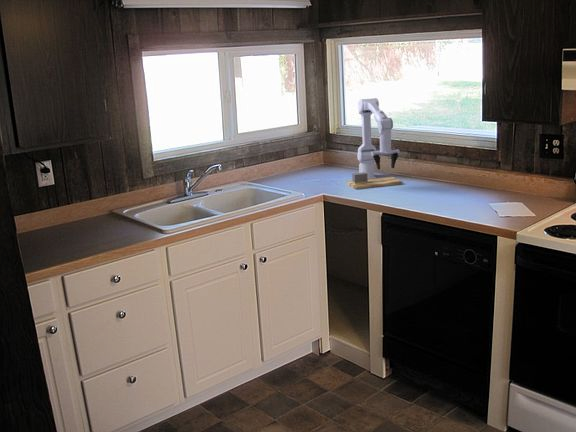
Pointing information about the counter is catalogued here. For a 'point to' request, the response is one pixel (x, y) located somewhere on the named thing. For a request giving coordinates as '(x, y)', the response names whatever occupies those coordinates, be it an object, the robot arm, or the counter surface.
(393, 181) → the board
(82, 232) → the counter surface
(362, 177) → the block
